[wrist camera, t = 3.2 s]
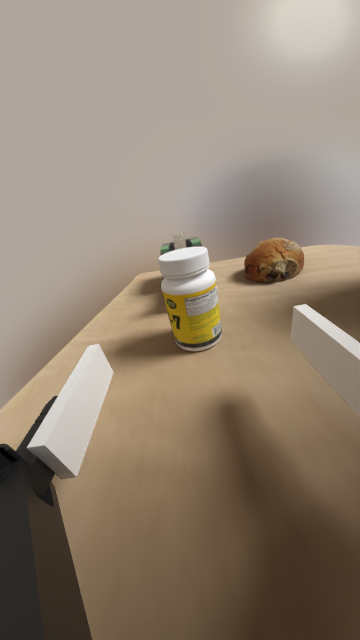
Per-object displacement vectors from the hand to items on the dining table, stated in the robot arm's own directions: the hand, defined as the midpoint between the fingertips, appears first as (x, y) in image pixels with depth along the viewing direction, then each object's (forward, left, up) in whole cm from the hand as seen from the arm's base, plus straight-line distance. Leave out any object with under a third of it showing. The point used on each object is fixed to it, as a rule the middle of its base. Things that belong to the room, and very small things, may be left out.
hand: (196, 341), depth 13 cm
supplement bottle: (-3, -8, -6) cm, 11 cm away
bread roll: (-22, -20, -6) cm, 30 cm away
